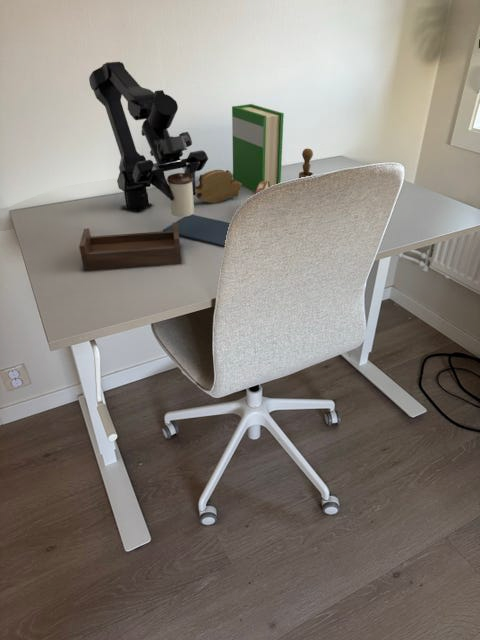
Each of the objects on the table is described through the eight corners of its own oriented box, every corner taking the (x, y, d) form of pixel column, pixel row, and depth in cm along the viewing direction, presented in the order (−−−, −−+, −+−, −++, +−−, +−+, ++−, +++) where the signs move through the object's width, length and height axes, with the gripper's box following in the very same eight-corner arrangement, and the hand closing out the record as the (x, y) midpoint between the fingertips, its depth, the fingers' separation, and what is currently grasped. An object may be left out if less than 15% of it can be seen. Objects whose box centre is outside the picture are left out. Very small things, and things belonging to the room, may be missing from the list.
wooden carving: (236, 194, 153) (235, 163, 147) (243, 198, 150) (243, 167, 144) (190, 203, 146) (188, 171, 140) (196, 208, 143) (194, 176, 137)
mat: (162, 232, 129) (162, 230, 129) (189, 215, 138) (189, 213, 138) (225, 247, 121) (225, 245, 121) (248, 229, 130) (248, 227, 130)
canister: (168, 216, 116) (164, 177, 110) (173, 207, 121) (169, 169, 115) (193, 217, 116) (190, 177, 110) (196, 207, 121) (194, 169, 115)
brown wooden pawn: (291, 206, 144) (294, 146, 133) (311, 205, 144) (316, 145, 134) (294, 214, 138) (298, 152, 128) (316, 213, 139) (322, 151, 128)
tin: (263, 223, 133) (263, 194, 128) (252, 222, 134) (252, 194, 129) (270, 204, 145) (271, 177, 141) (260, 203, 146) (261, 176, 141)
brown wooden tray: (89, 252, 119) (83, 228, 115) (179, 245, 122) (177, 222, 118) (84, 271, 111) (78, 246, 107) (181, 263, 114) (179, 238, 110)
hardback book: (280, 190, 155) (283, 113, 142) (261, 195, 152) (263, 116, 138) (250, 176, 168) (251, 103, 154) (233, 180, 164) (232, 106, 150)
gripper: (130, 126, 105) (157, 188, 104) (202, 115, 113) (228, 173, 112) (122, 153, 115) (146, 211, 113) (189, 142, 123) (212, 195, 122)
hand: (184, 197), depth 115 cm, fingers closed on canister, 6 cm apart
